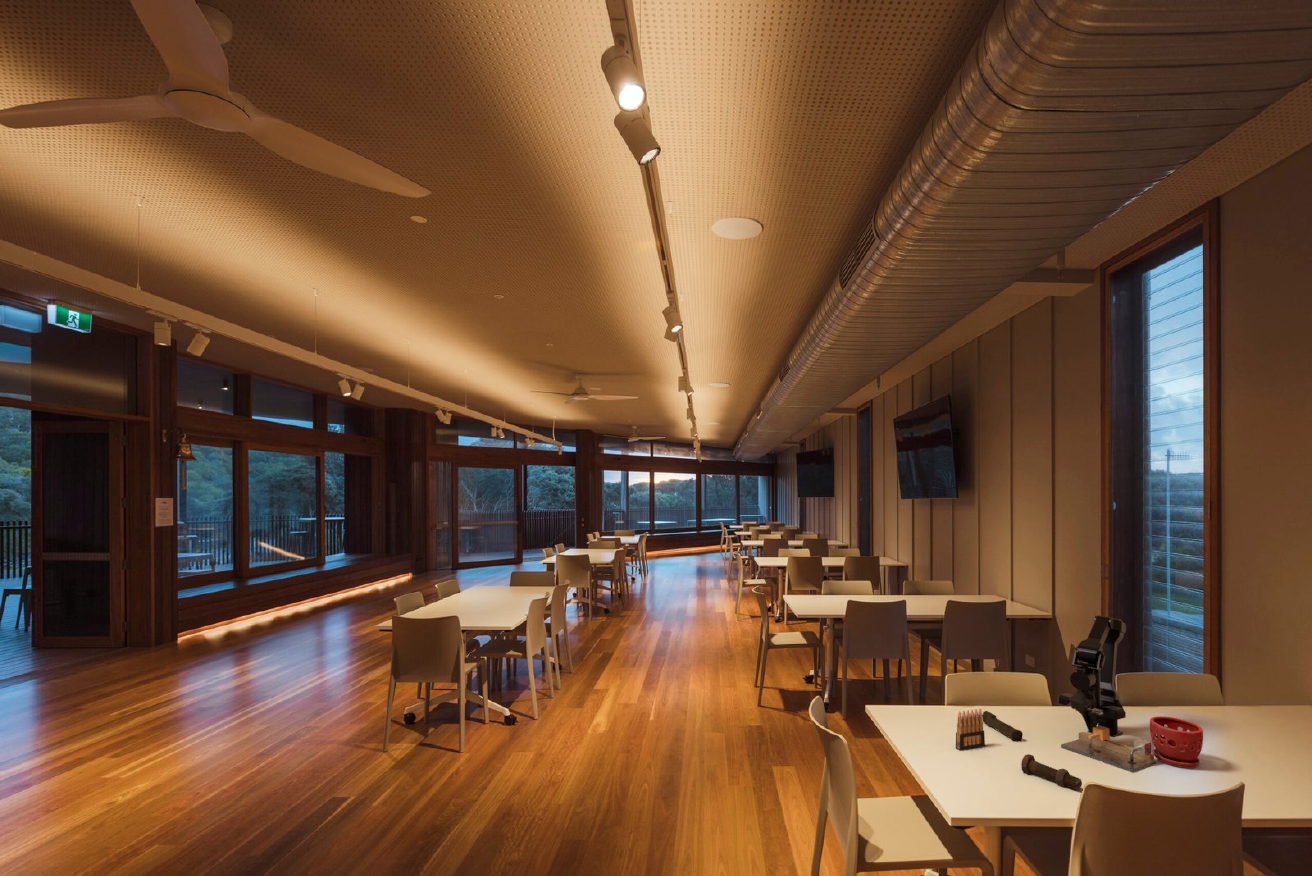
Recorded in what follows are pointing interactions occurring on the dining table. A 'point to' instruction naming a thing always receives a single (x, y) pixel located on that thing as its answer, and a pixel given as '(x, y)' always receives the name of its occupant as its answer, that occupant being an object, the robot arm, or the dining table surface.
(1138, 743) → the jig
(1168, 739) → the plant pot
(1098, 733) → the orange block with bar
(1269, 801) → the dining table surface
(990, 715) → the hand tool
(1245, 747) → the dining table surface
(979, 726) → the ammunition clip
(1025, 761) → the bolt
